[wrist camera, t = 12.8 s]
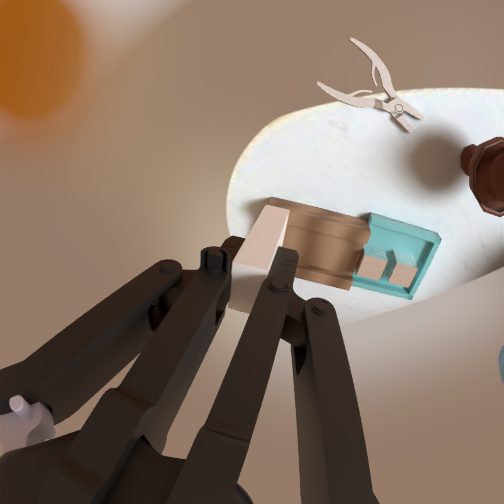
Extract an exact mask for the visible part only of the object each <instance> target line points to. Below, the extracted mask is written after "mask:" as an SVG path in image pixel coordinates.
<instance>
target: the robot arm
mask: <svg viewBox="0 0 504 504" xmlns="http://www.w3.org/2000/svg"><path fill="white" fill-rule="evenodd" d="M289 211H290V210H288V209H284V208H279V207H275V206H270V205H265V207H264V209H263V210H262V212H261V214H260V215H259V217H258V219H257V221H256V222H255V224H254V226H253V227H252V229H251V231H250V232H249V234H248V236H247V238H246V239H245V238H241V237H237V236H231V237H229V238H227V239H226V240H225V241H224V243H223V244H222V246H221V247H216V246H213V247H207V248H204V249H203V250H201V262H200V263H201V264H200V268H199V269H198V270H182V266H181V264H180V263H179V262H177V261H174V260H168V259H167V260H161V261H159V262H157V263H155V264H154V265H153V266H151V267H150V268H148V269H147V270H145V271H144V272H142V273H141V274H139V275H138V276H137V277H135V278H134V279H132V280H131V281H129V282H128V283H127V284H125V285H124V286H122V287H121V288H120V289H118V290H117V291H115V292H114V293H112V294H111V295H110V296H108V297H107V298H105V299H104V300H103V301H101V302H100V303H98V304H97V305H96V306H94V307H93V308H92V309H90V310H89V311H88V312H86V313H85V314H83V315H82V316H81V317H79V318H78V319H77V320H76V321H74V322H73V323H71V324H70V325H69V326H67V327H66V328H65V329H64V330H62V331H61V332H60V333H58V334H57V335H56V336H54V337H53V338H52V339H50V340H49V341H48V342H47V343H45V344H44V345H43V346H42V347H40V348H39V349H38V350H36V352H34V353H33V354H32V355H30V356H29V357H28V358H26V359H25V360H24V361H22V362H19V363H17V364H14V365H11V366H9V367H6V368H3V369H1V370H0V439H1V443H2V446H3V449H4V453H5V454H3V455H2V456H1V457H0V504H253V502H252V500H251V498H250V496H249V495H248V494H247V492H246V491H245V490H244V489H243V488H242V487H241V486H240V485H239V484H238V483H237V481H238V478H239V475H240V472H241V469H242V466H243V463H244V460H245V457H246V454H247V451H248V448H249V444H250V440H251V437H252V433H253V430H254V427H255V424H256V421H257V418H258V414H259V411H260V408H261V404H262V401H263V398H264V394H265V390H266V387H267V384H268V380H269V377H270V373H271V369H272V366H273V362H274V359H275V354H276V351H277V347H278V344H279V340H280V338H281V339H283V340H285V341H286V342H288V343H290V344H291V355H292V367H293V379H294V391H295V406H296V420H297V435H298V451H299V471H300V492H301V503H302V504H379V502H378V500H377V498H376V496H375V495H374V493H373V491H372V483H371V476H370V469H369V463H368V456H367V450H366V444H365V439H364V433H363V428H362V422H361V417H360V412H359V407H358V402H357V398H356V393H355V388H354V384H353V379H352V375H351V370H350V366H349V362H348V359H347V353H346V350H345V345H344V341H343V337H342V334H341V330H340V326H339V322H338V318H337V315H336V311H335V308H334V306H333V305H332V304H331V303H330V302H329V301H327V300H325V299H322V298H311V299H309V300H307V301H306V300H304V299H302V298H300V297H299V296H298V295H297V294H296V293H295V292H294V290H293V282H294V277H295V273H296V268H297V264H298V259H299V255H298V253H297V250H293V249H289V248H285V247H282V245H283V240H284V235H285V230H286V225H287V221H288V216H289ZM228 301H229V303H228ZM227 303H228V308H231V309H234V310H238V311H241V312H245V313H249V314H250V315H249V317H248V320H247V322H246V325H245V327H244V330H243V332H242V335H241V338H240V340H239V343H238V345H237V348H236V350H235V353H234V355H233V357H232V360H231V362H230V365H229V367H228V370H227V372H226V375H225V377H224V379H223V382H222V384H221V387H220V389H219V392H218V394H217V396H216V399H215V401H214V404H213V406H212V408H211V411H210V413H209V415H208V418H207V420H206V422H205V424H204V426H203V427H202V428H201V429H200V430H199V432H198V434H197V436H196V438H195V440H194V443H193V445H192V447H191V450H190V452H189V454H188V456H187V458H186V459H179V458H173V457H167V456H163V455H161V454H162V452H163V450H164V447H165V444H166V439H167V434H168V431H169V429H170V427H171V425H172V423H173V421H174V419H175V417H176V415H177V413H178V411H179V408H180V406H181V404H182V402H183V400H184V398H185V396H186V394H187V392H188V390H189V388H190V386H191V384H192V381H193V380H194V377H195V376H196V373H197V371H198V369H199V367H200V365H201V363H202V361H203V359H204V357H205V355H206V353H207V351H208V348H209V346H210V344H211V342H212V340H213V338H214V336H215V334H216V332H217V330H218V328H219V326H220V324H221V322H222V319H223V317H224V315H225V308H226V305H227ZM138 354H140V355H139V356H138V358H137V359H136V361H135V363H134V364H133V365H132V367H131V369H130V370H129V372H128V373H127V375H126V376H125V378H124V379H123V381H122V383H121V384H120V385H119V386H118V387H117V388H110V389H109V390H107V391H106V392H105V393H104V394H103V395H102V397H101V398H100V400H99V402H98V403H97V405H96V406H95V408H94V409H93V411H92V413H91V414H90V416H89V417H88V419H87V420H86V422H85V424H84V425H83V427H82V428H81V430H78V431H75V432H72V433H69V434H66V435H63V436H60V437H57V438H54V439H52V438H53V437H54V436H55V433H56V432H55V429H54V425H56V424H58V423H60V422H62V421H64V420H65V419H67V418H68V417H70V416H71V415H72V414H74V413H75V412H76V411H77V410H79V409H80V408H81V407H82V406H83V405H84V404H85V403H86V402H87V401H88V400H89V399H90V398H91V397H93V396H94V395H95V394H96V393H97V392H98V391H99V390H100V389H101V388H102V387H104V386H105V385H106V384H107V383H108V382H109V381H110V380H111V379H112V378H113V377H114V376H116V375H117V374H118V373H119V372H120V371H121V370H122V369H123V368H124V367H125V366H126V365H128V364H129V363H130V362H131V361H132V360H133V359H134V358H135V357H136V356H137V355H138ZM498 362H499V371H500V376H501V380H502V382H503V383H504V345H503V346H502V348H501V350H500V353H499V361H498ZM46 439H51V440H48V441H44V440H46ZM43 441H44V442H43Z"/></svg>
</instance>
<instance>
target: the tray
mask: <svg viewBox="0 0 504 504" xmlns="http://www.w3.org/2000/svg"><path fill="white" fill-rule="evenodd" d="M368 223H369V227H370V231H371V235H370V238H369V241H368V244H372V245H376V246H379V247H383V248H384V249H385V252H386V256H387V259H388V261H389V258H390V256H391V253H392V251H393V250H396V251H400V252H403V253H407V254H410V255H413V257H414V259H415V261H416V264H417V266H418V270H417V272H416V274H415V276H414V278H413V280H412V282H411V284H410V286H409V288H407V287H403V286H399V285H395V284H391V283H388V281H387V276H386V272H385V268H384V271H383V273H382V275H381V277H380V279H379V281H377V280H373V279H369V278H365V277H361V276H357V275H356V268H355V271H354V273H353V282H352V286H356V287H360V288H364V289H368V290H372V291H376V292H380V293H385V294H389V295H393V296H397V297H401V298H405V299H410V300H412V298H413V296H414V294H415V292H416V291H417V289H418V287H419V285H420V283H421V281H422V279H423V277H424V275H425V273H426V271H427V269H428V267H429V265H430V263H431V261H432V259H433V257H434V255H435V253H436V251H437V249H438V246H439V244H440V242H441V240H442V239H441V238H440V236H439V235H438V233H435V232H432V231H429V230H426V229H423V228H420V227H417V226H414V225H411V224H408V223H404V222H401V221H398V220H395V219H391V218H388V217H385V216H381V215H378V214H374V213H370V216H369V219H368ZM387 263H388V262H387ZM386 265H387V264H386ZM385 267H386V266H385Z"/></svg>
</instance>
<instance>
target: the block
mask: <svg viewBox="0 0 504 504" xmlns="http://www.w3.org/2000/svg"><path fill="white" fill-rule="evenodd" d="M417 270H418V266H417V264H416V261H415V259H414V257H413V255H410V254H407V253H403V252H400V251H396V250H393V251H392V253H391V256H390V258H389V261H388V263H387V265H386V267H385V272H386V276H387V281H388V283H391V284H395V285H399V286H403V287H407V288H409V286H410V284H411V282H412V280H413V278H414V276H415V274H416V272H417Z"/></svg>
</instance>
